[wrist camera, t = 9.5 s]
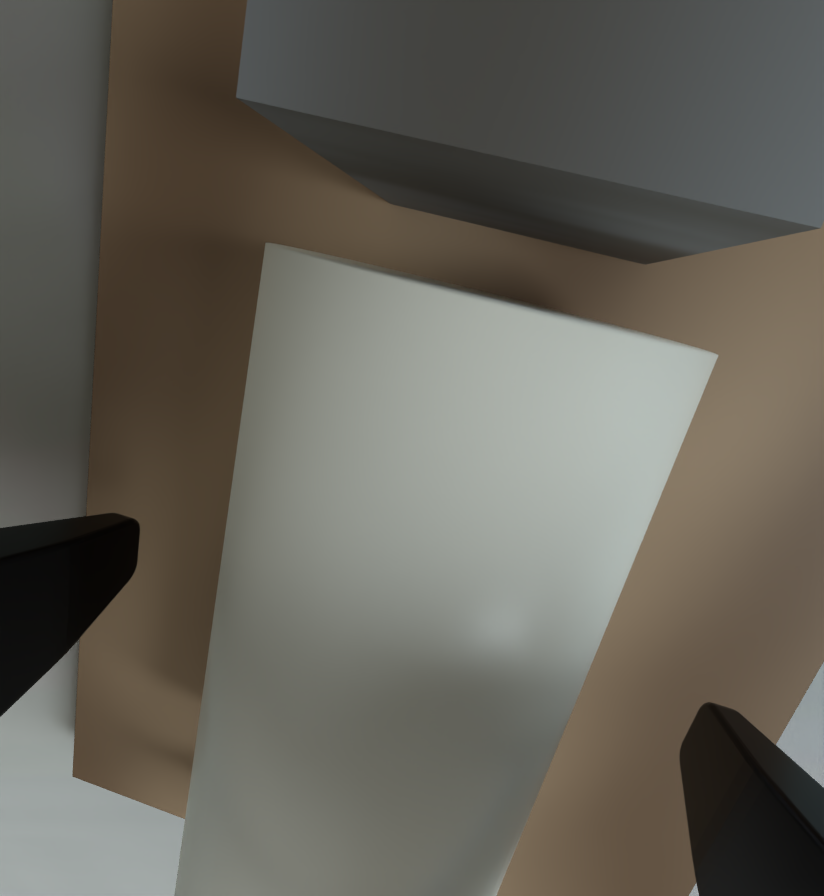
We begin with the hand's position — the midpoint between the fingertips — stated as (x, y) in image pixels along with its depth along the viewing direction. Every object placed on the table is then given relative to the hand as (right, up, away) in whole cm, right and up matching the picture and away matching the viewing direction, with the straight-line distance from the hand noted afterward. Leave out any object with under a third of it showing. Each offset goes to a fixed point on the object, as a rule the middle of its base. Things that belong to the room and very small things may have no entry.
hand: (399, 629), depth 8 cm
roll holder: (+1, +1, +3) cm, 3 cm away
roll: (0, +1, +2) cm, 2 cm away
